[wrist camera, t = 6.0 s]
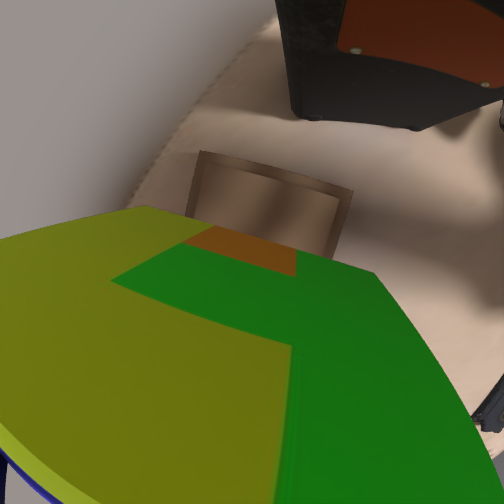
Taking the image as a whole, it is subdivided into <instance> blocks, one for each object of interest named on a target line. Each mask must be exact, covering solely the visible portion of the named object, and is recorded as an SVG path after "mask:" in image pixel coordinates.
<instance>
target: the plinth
mask: <svg viewBox="0 0 504 504" xmlns="http://www.w3.org/2000/svg"><path fill="white" fill-rule="evenodd" d="M352 194H353V191H351V190H348V189H345V188H342V187H339V186H336V185H333V184H330V183H327V182H324V181H320V180H317V179H314V178H310V177H307V176H304V175H300V174H297V173H293V172H290V171H286V170H283V169H279V168H275V167H271V166H267V165H264V164H260V163H256V162H251V161H247V160H243V159H239V158H234V157H230V156H226V155H221V154H216V153H211V152H206V151H201V150H200V153H199V156H198V160H197V165H196V169H195V173H194V177H193V181H192V186H191V190H190V194H189V199H188V204H187V208H186V213H185V217H189V218H192V219H196V220H199V221H203V222H206V223H210V224H213V225H217V226H220V227H224V228H227V229H230V230H234V231H237V232H241V233H244V234H248V235H251V236H254V237H258V238H261V239H265V240H268V241H271V242H275V243H278V244H281V245H285V246H288V247H291V248H295V249H298V250H301V251H305V252H308V253H311V254H315V255H318V256H321V257H324V258H328V259H331V260H332V258H333V255H334V252H335V249H336V246H337V243H338V240H339V237H340V234H341V230H342V227H343V224H344V221H345V218H346V214H347V211H348V208H349V204H350V201H351V197H352Z"/></svg>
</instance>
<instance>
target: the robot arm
mask: <svg viewBox="0 0 504 504" xmlns="http://www.w3.org/2000/svg"><path fill="white" fill-rule="evenodd" d="M7 464H8V461H7V460H6V459H5V457H4V456H3V455H2V454H1V453H0V504H5V483H6V473H7Z"/></svg>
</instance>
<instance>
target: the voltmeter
mask: <svg viewBox="0 0 504 504" xmlns="http://www.w3.org/2000/svg"><path fill="white" fill-rule="evenodd" d="M275 3H276V8H277V14H278V19H279V25H280V31H281V37H282V43H283V49H284V56H285V62H286V69H287V77H288V84H289V92H290V100H291V108H292V111H293V113H294V114H295V115H296V116H298V117H299V118H302V119H307V120H309V121H319V120H331V121H346V122H358V123H368V124H377V125H385V126H392V127H399V128H405V129H409V130H411V131H415V132H418V131H422V130H424V129H426V128H429V127H431V126H434V125H436V124H439V123H441V122H444V121H446V120H449V119H451V118H454V117H456V116H459V115H461V114H464V113H467V112H469V111H472V110H474V109H477V108H480V107H482V106H485V105H488V104H491V103H493V102H496V101H499V100H502V99H504V0H275Z"/></svg>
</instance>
